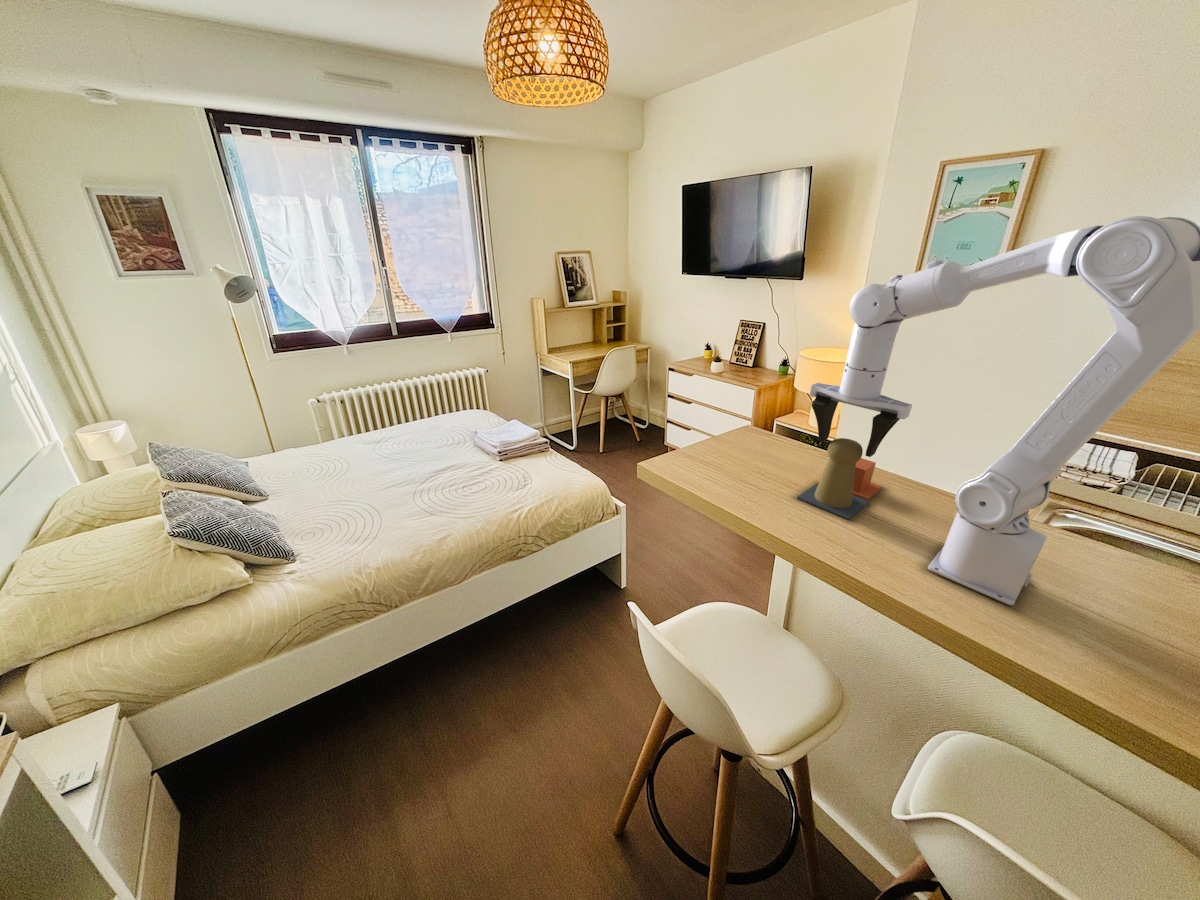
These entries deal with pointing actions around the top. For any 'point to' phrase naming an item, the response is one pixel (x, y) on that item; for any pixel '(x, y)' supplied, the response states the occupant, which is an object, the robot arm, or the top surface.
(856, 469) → the terracotta block
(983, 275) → the robot arm
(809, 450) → the top surface
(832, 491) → the cork
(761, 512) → the top surface
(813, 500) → the slate mat
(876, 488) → the terracotta mat
